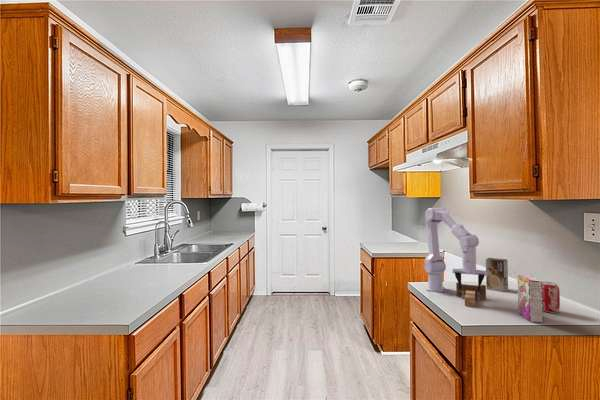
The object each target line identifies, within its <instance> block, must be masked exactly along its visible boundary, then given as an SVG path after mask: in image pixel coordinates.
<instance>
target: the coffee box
mask: <svg viewBox="0 0 600 400" xmlns="http://www.w3.org/2000/svg"><path fill="white" fill-rule="evenodd" d="M485 271H487V276H485V278H486V280H485V281H486V283H485V285H486V290H491V291H497V292H505V293H506V292H507V291H508V290H509V272H508V271H509V270H508V259H504V258H495V257H488V258H486V259H485Z"/></svg>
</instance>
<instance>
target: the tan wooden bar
mask: <svg viewBox="0 0 600 400" xmlns="http://www.w3.org/2000/svg"><path fill="white" fill-rule="evenodd" d="M476 300H477V298H476V297H475V291H472V290H466V293H465V298H464V306H465V307H471V308H475V306H476Z"/></svg>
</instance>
